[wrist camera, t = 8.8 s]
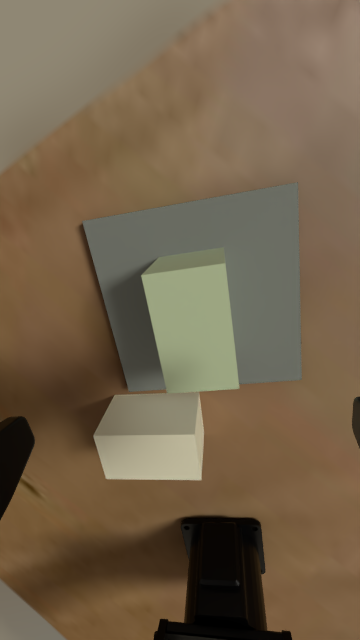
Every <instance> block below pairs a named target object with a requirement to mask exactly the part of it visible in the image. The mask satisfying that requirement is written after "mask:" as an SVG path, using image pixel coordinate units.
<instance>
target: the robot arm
mask: <svg viewBox="0 0 360 640" xmlns="http://www.w3.org/2000/svg"><path fill="white" fill-rule="evenodd" d="M352 428H353V432H354V435H355V438H356V440H357V443H358V445H359V448H360V397H356V398H355V399H354V402H353V417H352ZM34 444H35V438H34V435H33V433H32V431H31V428H30V426H29V424H28V422H27V420H26V419H25V418H24V417H22V416H18V417H9V418H7V419H5V420H3V421H2V422H0V520H1V518H2V516H3V514H4V512H5V510H6V509H7V507H8V505H9V503H10V501H11V499H12V496H13V494H14V492H15V490H16V487H17V485H18V483H19V480H20V478H21V476H22V473H23V471H24V468H25V466H26V464H27V461H28V459H29V457H30V454H31V452H32V450H33V447H34ZM181 530H182V534H183V538H184V542H185V546H186V550H187V554H188V558H189V568H188V581H187V593H186V605H185V618H184V623H181V622H171V621H168V619H160V622H159V627H158V631H156V632H155V633H154V640H292V637H291V632H290V631H284V630H282V632H274V631H267V623H266V614H265V605H264V596H263V587H262V578H261V574H264V573H265V562H264V552H263V542H262V531H261V524H260V522H259V521H257V520H233V519H184V520H182V523H181Z"/></svg>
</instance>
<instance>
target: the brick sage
mask: <svg viewBox="0 0 360 640" xmlns="http://www.w3.org/2000/svg"><path fill="white" fill-rule="evenodd" d="M141 277H142V281H143V286H144V290H145V295H146V299H147V304H148V308H149V313H150V318H151V322H152V327H153V331H154V336H155V340H156V345H157V349H158V354H159V358H160V363H161V367H162V372H163V376H164V381H165V385H166V390H167V394H169V393H184V392H198V391H213V390H227V389H239V380H238V371H237V362H236V352H235V343H234V335H233V326H232V317H231V308H230V299H229V291H228V282H227V273H226V264H225V255H224V247H223V248H216V249H210V250H203V251H197V252H190V253H183V254H177V255H170V256H164V257H159V258H158V259H157V260H156V261H155V262H154V263H153V264H152V265H151V266H150V267H149V268H148V269H147V270H146V271H145V272H144V273H143V274H142V275H141Z"/></svg>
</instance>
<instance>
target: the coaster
mask: <svg viewBox="0 0 360 640" xmlns="http://www.w3.org/2000/svg"><path fill="white" fill-rule="evenodd" d="M82 222H83V226H84V229H85V233H86V237H87V240H88V244H89V248H90V251H91V255H92V259H93V262H94V266H95V269H96V273H97V277H98V280H99V284H100V288H101V291H102V295H103V299H104V302H105V306H106V310H107V313H108V317H109V320H110V324H111V328H112V331H113V335H114V339H115V342H116V346H117V350H118V353H119V357H120V360H121V364H122V368H123V371H124V375H125V379H126V382H127V386H128V390H129V392H133V391H147V390H162V389H166V385H165V381H164V376H163V372H162V367H161V363H160V358H159V354H158V349H157V345H156V340H155V336H154V331H153V327H152V322H151V318H150V313H149V308H148V304H147V299H146V295H145V290H144V286H143V281H142V277H141V275H142V274H143V273H144V272H145V271H146V270H147V269H148V268H149V267H150V266H151V265H152V264H153V263H154V262H155V261H156V260H157V259H158V258H159V257H164V256H170V255H177V254H183V253H190V252H197V251H203V250H210V249H216V248H223V247H224V255H225V264H226V273H227V282H228V291H229V299H230V308H231V317H232V326H233V335H234V343H235V352H236V362H237V371H238V380H239V384H249V383H264V382H278V381H293V380H302V376H301V323H300V269H299V216H298V182H297V183H292V184H286V185H281V186H275V187H270V188H264V189H259V190H253V191H247V192H242V193H236V194H231V195H225V196H220V197H214V198H209V199H203V200H197V201H192V202H186V203H181V204H175V205H170V206H164V207H158V208H153V209H147V210H142V211H136V212H131V213H125V214H120V215H114V216H108V217H103V218H97V219H92V220H86V221H82Z"/></svg>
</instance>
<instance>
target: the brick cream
mask: <svg viewBox="0 0 360 640" xmlns="http://www.w3.org/2000/svg"><path fill="white" fill-rule="evenodd" d="M93 437H94V440H95V443H96V447H97V450H98V453H99V457H100V460H101V463H102V466H103V470H104V473H105V476H106V479H152V480H201V475H202V459H203V442H204V428H203V420H202V412H201V404H200V396H199V392H188V393H169V394H167V393H158V394H128V395H114V397H113V399H112V401H111V403H110V405H109V406H108V408H107V410H106V412H105V414H104V416H103V418H102V420H101V422H100V424H99V426H98V427H97V429H96V431H95V433H94V435H93Z"/></svg>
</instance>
